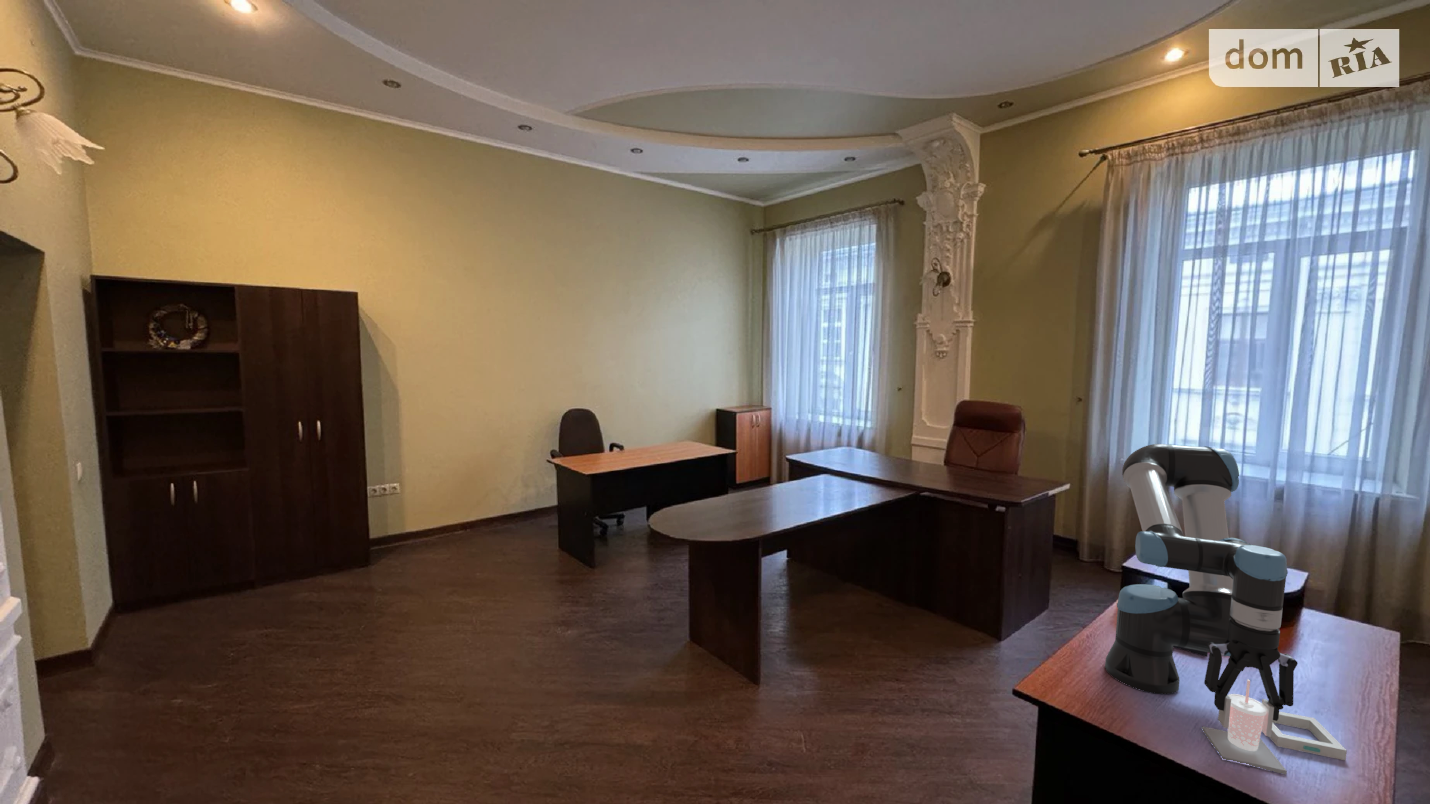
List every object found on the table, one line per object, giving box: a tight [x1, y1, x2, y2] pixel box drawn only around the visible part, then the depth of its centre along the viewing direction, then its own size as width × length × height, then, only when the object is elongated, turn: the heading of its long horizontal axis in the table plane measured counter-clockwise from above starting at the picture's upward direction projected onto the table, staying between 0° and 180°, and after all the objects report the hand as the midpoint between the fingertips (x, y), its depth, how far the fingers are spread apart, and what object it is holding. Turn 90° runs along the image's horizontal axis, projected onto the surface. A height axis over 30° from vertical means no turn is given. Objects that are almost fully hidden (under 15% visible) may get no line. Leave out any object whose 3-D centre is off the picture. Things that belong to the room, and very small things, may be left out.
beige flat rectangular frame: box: [1269, 711, 1348, 761], centre depth 123 cm, size 11×16×2 cm
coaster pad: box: [1201, 725, 1288, 776], centre depth 117 cm, size 10×10×1 cm
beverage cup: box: [1227, 678, 1267, 751], centre depth 116 cm, size 6×6×14 cm
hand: (1243, 728), depth 116 cm, fingers closed on beverage cup, 6 cm apart
